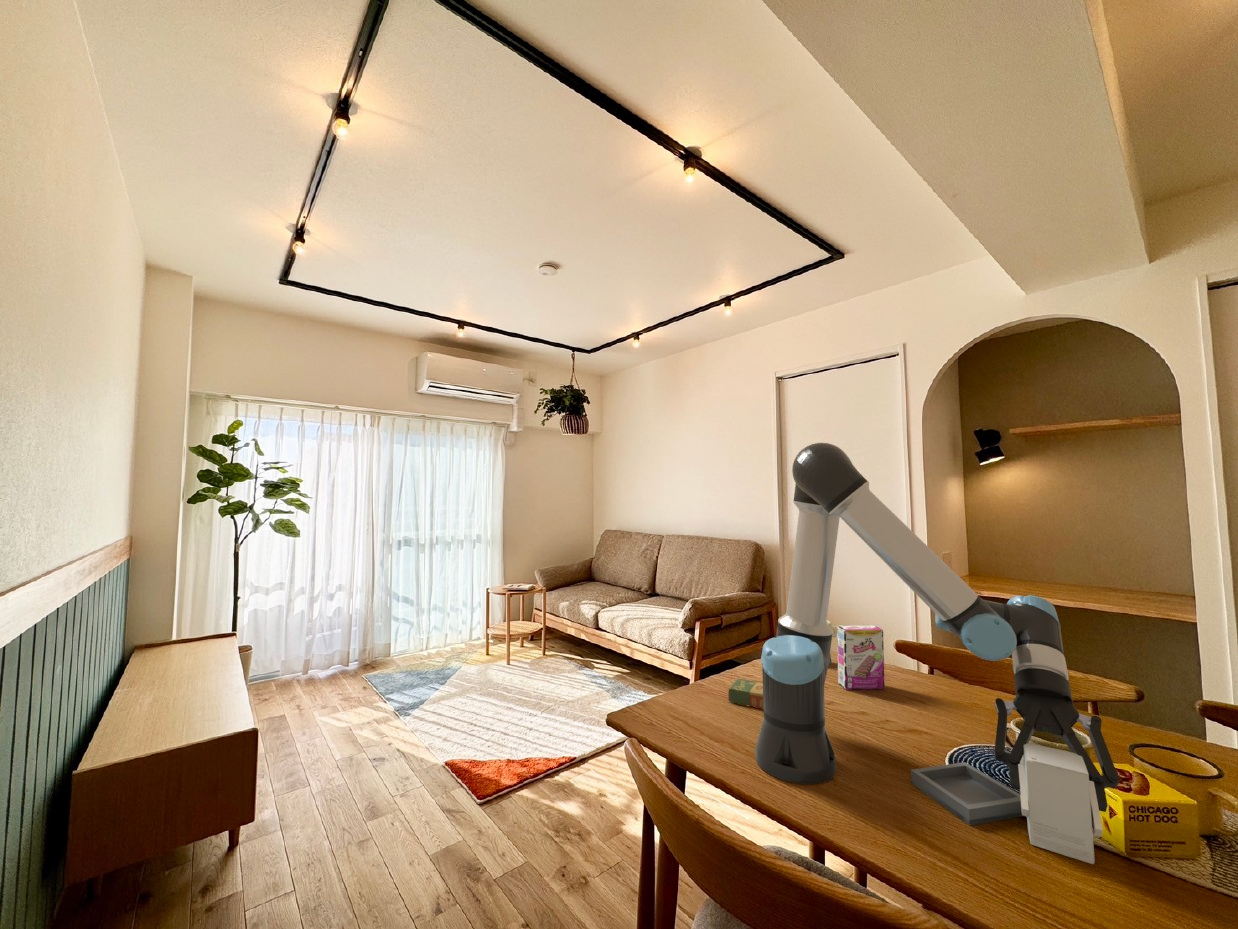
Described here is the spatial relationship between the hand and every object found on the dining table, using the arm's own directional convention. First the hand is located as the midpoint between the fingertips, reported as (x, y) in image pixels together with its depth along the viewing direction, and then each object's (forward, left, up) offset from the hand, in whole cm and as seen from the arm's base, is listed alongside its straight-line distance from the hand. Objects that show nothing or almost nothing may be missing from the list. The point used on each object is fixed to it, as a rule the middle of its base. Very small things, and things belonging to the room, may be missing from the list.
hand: (1060, 822), depth 74 cm
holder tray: (-1, +14, -5) cm, 15 cm away
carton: (-16, +60, -5) cm, 62 cm away
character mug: (+17, +84, -5) cm, 86 cm away
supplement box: (+3, +2, -5) cm, 6 cm away
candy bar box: (+16, +63, -5) cm, 65 cm away
